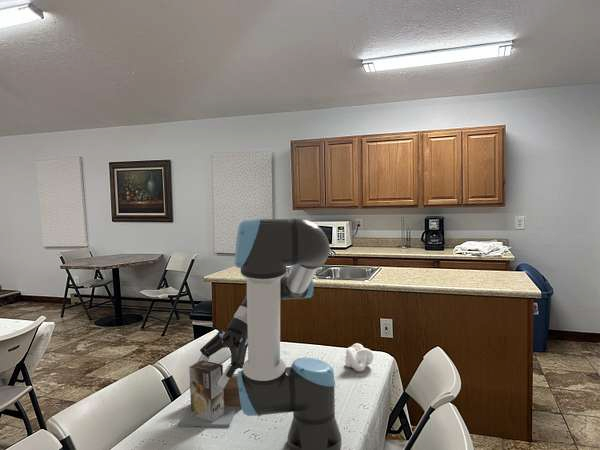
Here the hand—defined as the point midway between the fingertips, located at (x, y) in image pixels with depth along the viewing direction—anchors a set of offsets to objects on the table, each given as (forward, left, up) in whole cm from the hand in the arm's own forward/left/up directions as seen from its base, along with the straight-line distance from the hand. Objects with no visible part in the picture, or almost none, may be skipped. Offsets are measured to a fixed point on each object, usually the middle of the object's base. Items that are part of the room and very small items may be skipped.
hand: (207, 380), depth 132 cm
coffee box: (0, 0, -11) cm, 11 cm away
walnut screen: (+9, -2, -12) cm, 15 cm away
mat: (0, 0, -12) cm, 12 cm away
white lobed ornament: (+39, -51, -12) cm, 65 cm away
